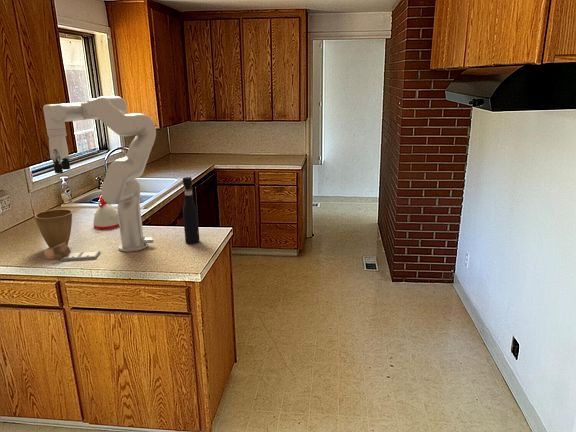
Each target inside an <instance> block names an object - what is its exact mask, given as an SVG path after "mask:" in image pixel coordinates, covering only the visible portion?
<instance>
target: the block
mask: <svg viewBox="0 0 576 432" xmlns="http://www.w3.org/2000/svg"><path fill="white" fill-rule="evenodd" d="M52 249H53V251H54V253H55V255H56V257H57V260H59V259H61V258H62V257H65V256H67V255H68V254H70V253H72V252H71V250H70V248H69V246H67V244H66V242H64V243H61V244H58V245H56V246H55V247H53V248H52Z"/></svg>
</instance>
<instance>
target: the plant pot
mask: <svg viewBox="0 0 576 432" xmlns="http://www.w3.org/2000/svg"><path fill="white" fill-rule="evenodd" d="M34 217H35V222H36V224H37V226H38V230H39V232H40V234H41V236H42V238H43V240H44V241H45V244H46V245H47V247H48V248H52V247H55V246H56V245H58V244H61V243H64V242H66V244H67V246H68V245H69V242H70V238H71V234H72V233H71V232H72V226H73V210H71V209H62V208H61V209H58V208H57V209H50V210H45V211H41V212H37V213H36V214H34ZM68 247H69V246H68Z"/></svg>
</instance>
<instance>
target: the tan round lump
mask: <svg viewBox="0 0 576 432" xmlns="http://www.w3.org/2000/svg"><path fill="white" fill-rule="evenodd" d="M52 248H53V247H52ZM52 248H49V247H48V248H46V249H44V257H45V259H46V260H48V261H50V260H58V258H57V257H56V255H55V253H54V251H53V249H52Z"/></svg>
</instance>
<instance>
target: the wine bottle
mask: <svg viewBox="0 0 576 432" xmlns="http://www.w3.org/2000/svg"><path fill="white" fill-rule="evenodd" d="M192 179H193V178H192V176H191V177H189V176H186V177H182V184H183V187H184V190H185V191H184V197H183V198H184V203H183V207H182V217H183V218H182V219H183V227H184V228H183V230H184V239H185V244H186V245H197V244H199V243H200V232H199V231H200V230H199V217H198V210H197V206H196V204H195V200H194V195H193V191H192V185H193V180H192Z"/></svg>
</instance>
